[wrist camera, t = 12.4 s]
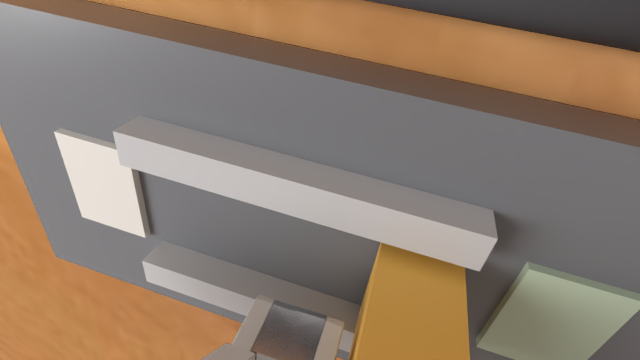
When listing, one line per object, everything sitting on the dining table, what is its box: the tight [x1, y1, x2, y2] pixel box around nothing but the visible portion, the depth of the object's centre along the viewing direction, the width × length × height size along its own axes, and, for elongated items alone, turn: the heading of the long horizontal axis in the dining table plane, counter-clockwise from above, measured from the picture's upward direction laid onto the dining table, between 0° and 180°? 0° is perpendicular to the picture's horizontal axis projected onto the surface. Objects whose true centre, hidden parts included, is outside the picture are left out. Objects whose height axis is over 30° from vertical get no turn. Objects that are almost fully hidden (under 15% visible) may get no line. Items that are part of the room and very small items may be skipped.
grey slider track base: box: [0, 0, 640, 360], centre depth 13 cm, size 24×12×3 cm, turn 82°
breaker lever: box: [348, 243, 470, 360], centre depth 10 cm, size 2×4×5 cm, turn 172°
